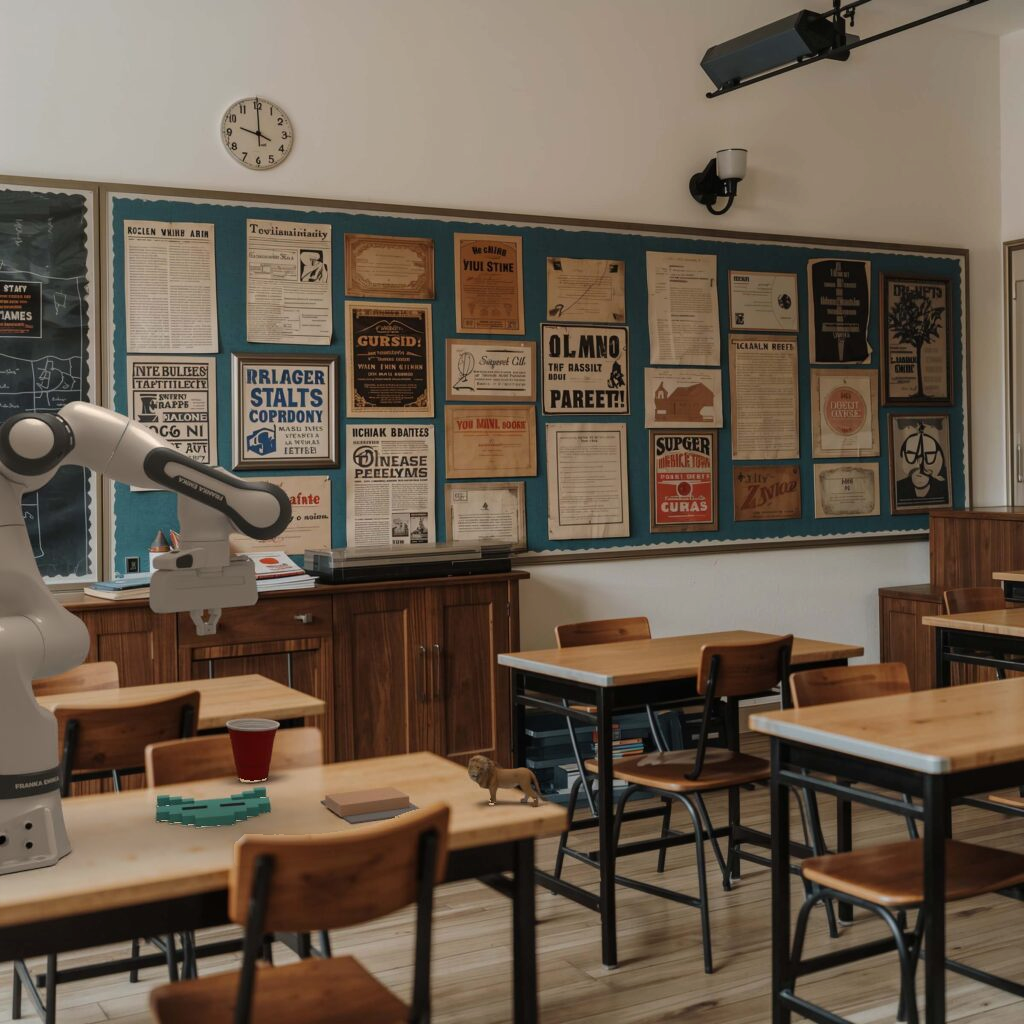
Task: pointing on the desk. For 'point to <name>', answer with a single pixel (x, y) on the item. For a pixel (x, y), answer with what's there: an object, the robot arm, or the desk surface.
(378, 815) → the mat
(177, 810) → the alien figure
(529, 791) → the lion figurine
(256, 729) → the plastic cup
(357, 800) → the tile
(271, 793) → the desk surface
